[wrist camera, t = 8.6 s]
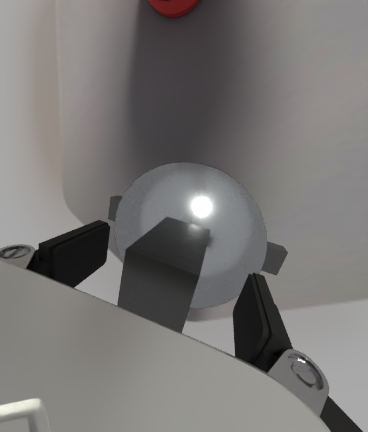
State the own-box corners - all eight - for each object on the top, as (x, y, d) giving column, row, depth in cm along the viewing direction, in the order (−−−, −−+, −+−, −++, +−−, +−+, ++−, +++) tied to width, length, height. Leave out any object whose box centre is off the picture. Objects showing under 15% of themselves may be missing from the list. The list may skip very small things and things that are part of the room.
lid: (130, 146, 14) (44, 124, 7) (291, 186, 12) (375, 207, 5) (114, 273, 18) (48, 334, 11) (234, 319, 16) (240, 426, 9)
